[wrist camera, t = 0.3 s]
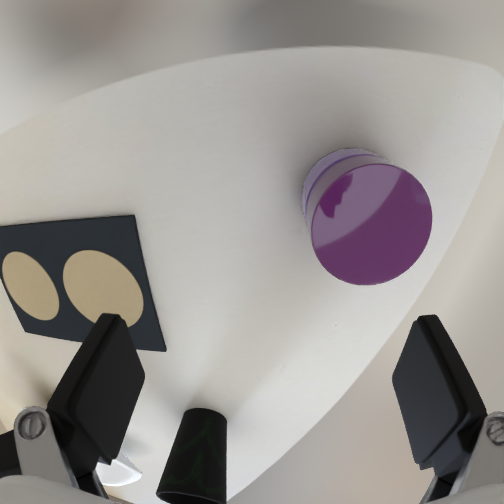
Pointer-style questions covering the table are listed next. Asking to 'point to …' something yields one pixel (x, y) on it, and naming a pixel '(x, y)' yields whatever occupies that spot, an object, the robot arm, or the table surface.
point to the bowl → (117, 471)
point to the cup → (197, 461)
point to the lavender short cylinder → (326, 165)
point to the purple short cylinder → (368, 220)
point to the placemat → (79, 278)
